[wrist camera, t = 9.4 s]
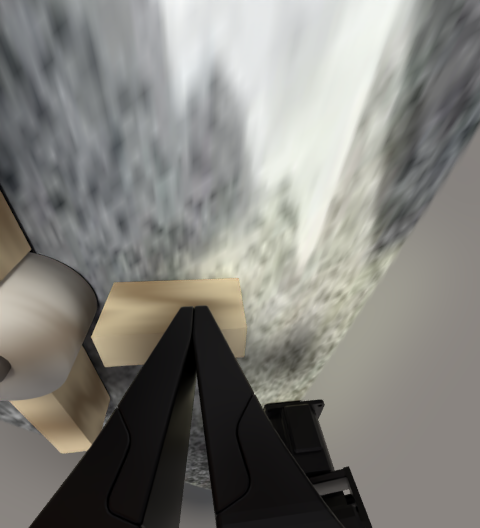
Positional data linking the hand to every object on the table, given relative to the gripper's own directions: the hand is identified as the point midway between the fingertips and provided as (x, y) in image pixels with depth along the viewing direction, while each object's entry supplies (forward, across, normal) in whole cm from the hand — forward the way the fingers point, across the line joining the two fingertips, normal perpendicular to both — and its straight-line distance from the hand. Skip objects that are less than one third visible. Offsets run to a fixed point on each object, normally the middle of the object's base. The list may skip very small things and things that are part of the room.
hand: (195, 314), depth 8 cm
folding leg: (+7, +2, +5) cm, 9 cm away
